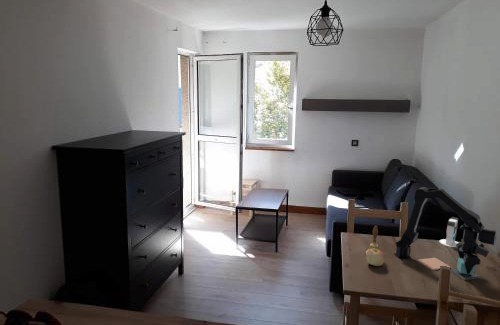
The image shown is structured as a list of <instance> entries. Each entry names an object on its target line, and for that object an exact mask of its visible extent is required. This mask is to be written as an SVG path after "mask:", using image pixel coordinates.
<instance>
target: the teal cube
mask: <svg viewBox="0 0 500 325" xmlns="http://www.w3.org/2000/svg"><path fill="white" fill-rule="evenodd" d="M456 269H458V270H459V272H460V273H464V274H467V272H466V268H465V264H464V259H463V258H459V257H458V258H457V264H456ZM475 270H476V265H475V266H474V267H473V268H472V270H471V272H470V274H471V275H474V273H475V272H476V271H475Z"/></svg>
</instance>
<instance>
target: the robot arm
mask: <svg viewBox="0 0 500 325" xmlns="http://www.w3.org/2000/svg"><path fill="white" fill-rule="evenodd" d="M435 198H437V199H440V200H441V202H443V203H444V204H445V205H446V206H448V207H449V208H450V209H451V210H452V211H454V213H456V214H457V215H458V217H459V218H460V219H461V221H462V222H463V224H462V225H461V226H460V227H459V229H460V230H463V237H462V238H461V242H459V243H458V244H456V247H455V249H456V252H457V254H458V258H463V259H464V264H465V268H466V272H467V274H470V272H471V270H472V268H473V267H474V266H475V267H476V265H477V266H478V265H481V258H480V257H479V256H478V255H480V256H482V257H484V258H487V256H488V255H489V254H490V251H489V248H486V247H485V245H486V244H487V245H490V246H495V245H496V240H497V230H495V229H494V230H493V229H492V230H491V229H489V228H488V229H487V228H485V226H484V225H483V223H482V222H481V216H480V215H479V214H478V213H476V212H474V211H472V210H470V209H468V208H466V207H465V206H463V204H461V203H460V202H459V201H457V200H456V199H455V198H453V196H451V195H450V193H448V192H447V191H446V190H445V189H443V188H428V187H427V186H422V187H420V188H418V189H416V190H415V192H414V196H413V201H414V205H413V207H412V212H411V215H410V218H409V221H408V224H407V227H406V229H405V231H404V232H403V233H402V236H401V238H400V239H399V240H397V241H396V242H395V245H396V249H395V250H396V252H394V254H393V255H394V256H396V257H397V258H399V259H400V260H405V259H407V260H408V259H412V257H411V251H412V250H411V245H413V243H415V242H416V241H417V240H418V236H419V232H417V227H418V224H419V221H420V218H421V214H422V212H423V208H424V205H425V204H426V203H427V201H428V199H435ZM478 241H479V243H477V242H478ZM484 244H485V245H484Z"/></svg>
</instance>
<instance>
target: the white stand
mask: <svg viewBox="0 0 500 325" xmlns="http://www.w3.org/2000/svg"><path fill="white" fill-rule="evenodd" d="M458 222H459V218H458V217H454V216H451V217H450V218H449V219H448V221H447V227H446V238H445V239H444V238H443V239H442V238H441V239H440V240H439V241H438V242H439V243H440V244H441V245H442V246H446V247H449V248H456V244H458V243H460V242H458V241H456V237H457V229H458V227H459V223H458Z"/></svg>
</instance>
